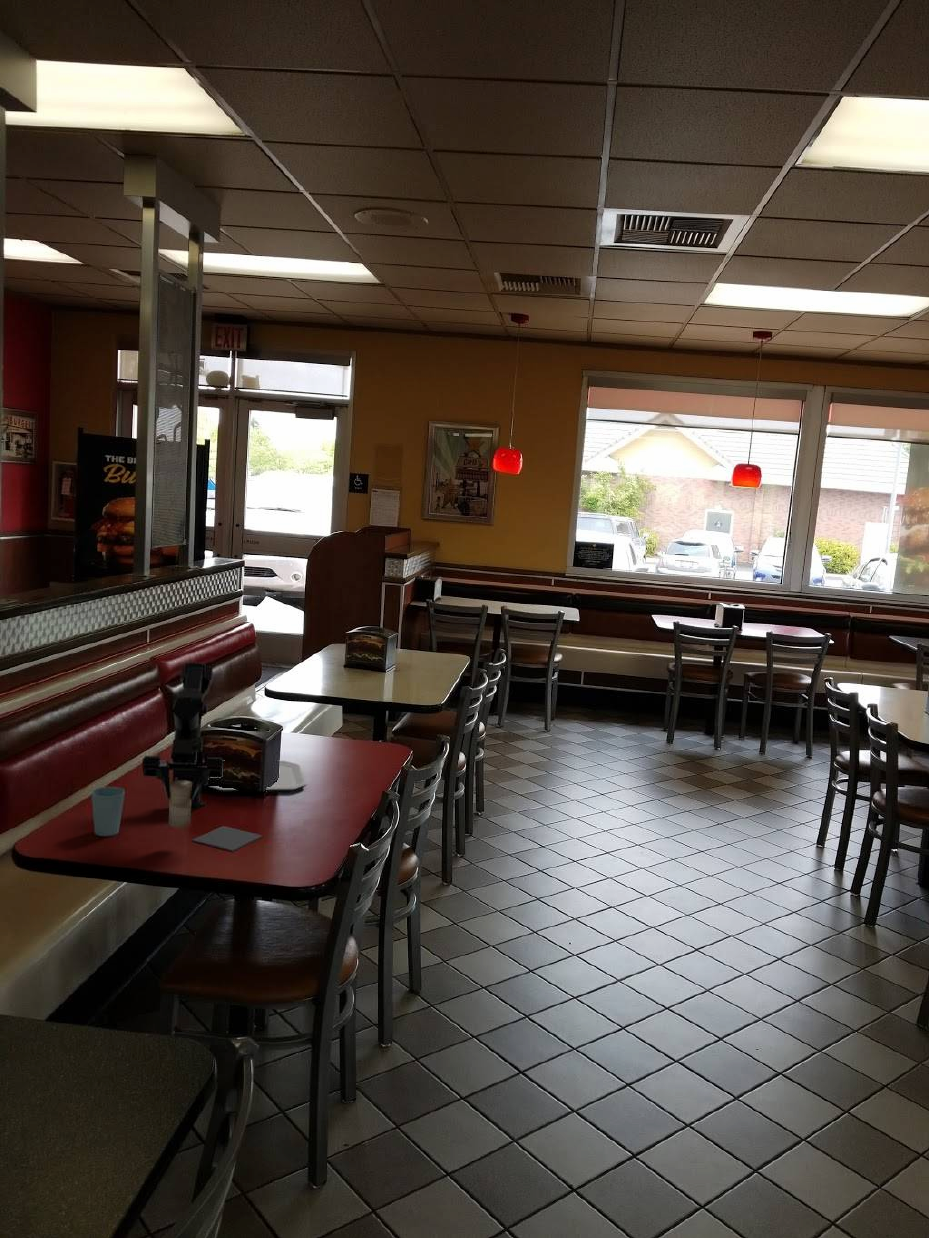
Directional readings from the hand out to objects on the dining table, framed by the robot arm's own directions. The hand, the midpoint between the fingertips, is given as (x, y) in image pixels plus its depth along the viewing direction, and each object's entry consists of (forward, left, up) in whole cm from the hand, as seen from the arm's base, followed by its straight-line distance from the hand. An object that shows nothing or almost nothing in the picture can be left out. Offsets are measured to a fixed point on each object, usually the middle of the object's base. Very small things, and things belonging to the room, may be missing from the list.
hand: (180, 798), depth 226 cm
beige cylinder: (-1, -1, -7) cm, 7 cm away
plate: (-56, -18, -13) cm, 60 cm away
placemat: (-12, +6, -12) cm, 18 cm away
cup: (+1, -21, -13) cm, 25 cm away
